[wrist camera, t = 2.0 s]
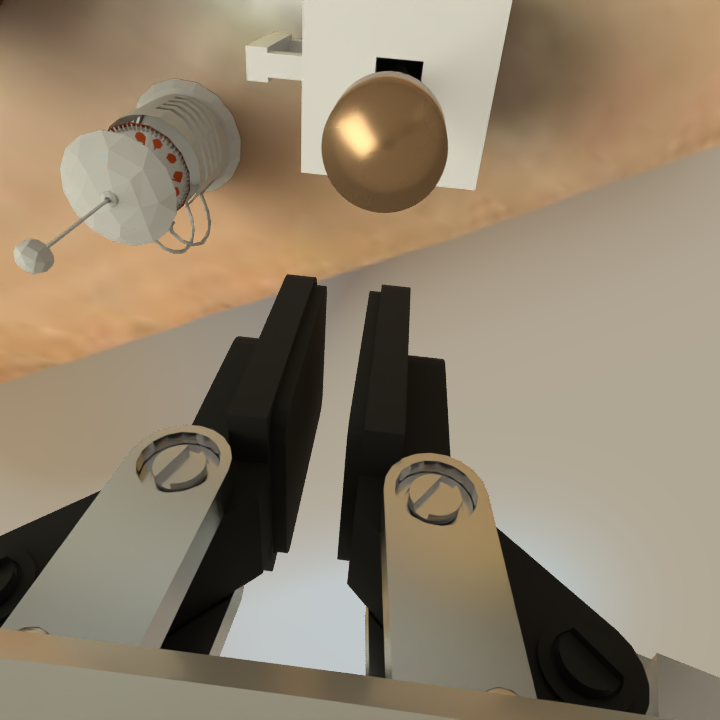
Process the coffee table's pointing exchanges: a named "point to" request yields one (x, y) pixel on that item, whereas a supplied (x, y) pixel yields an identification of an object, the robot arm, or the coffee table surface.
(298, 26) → the coffee table surface
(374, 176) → the plunger
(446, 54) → the socket block
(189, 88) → the french press
